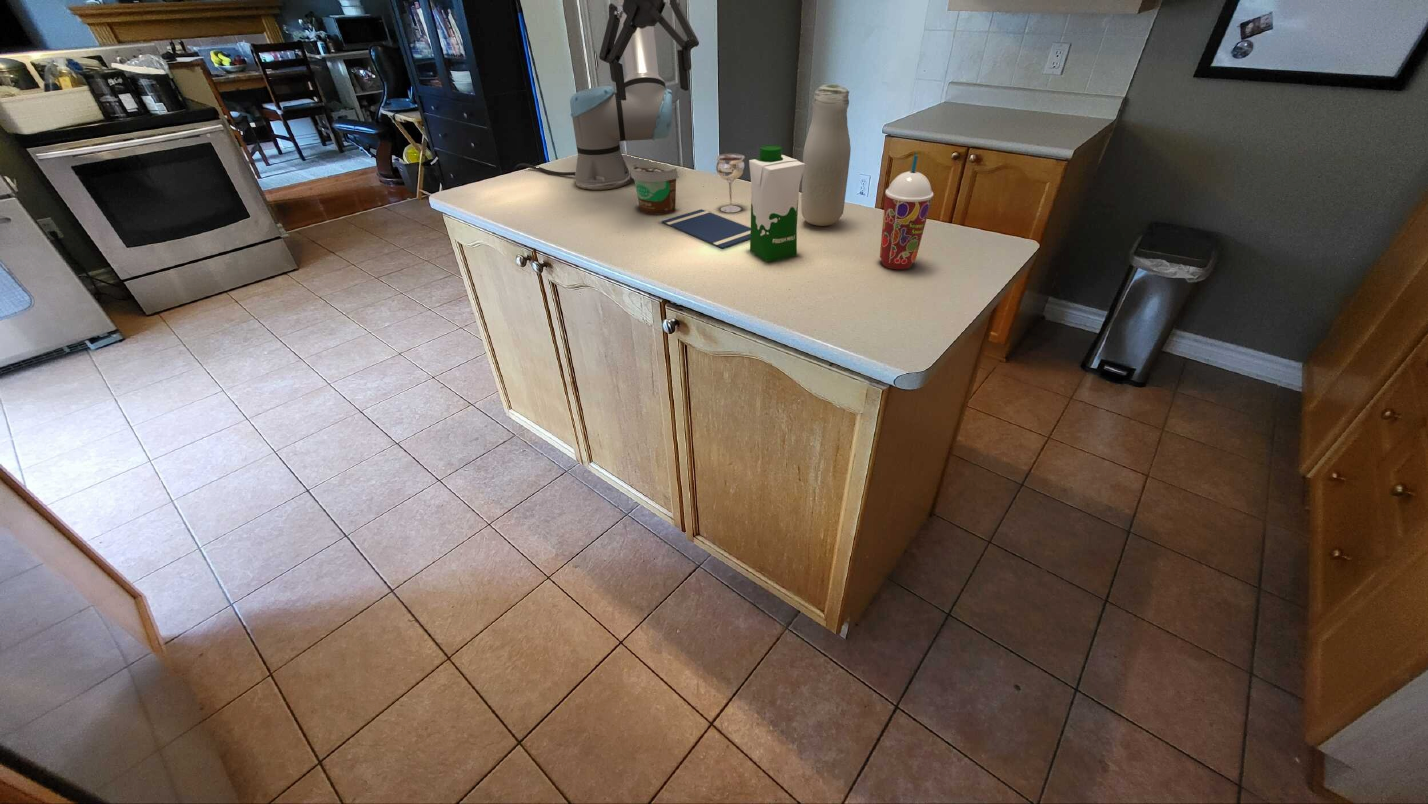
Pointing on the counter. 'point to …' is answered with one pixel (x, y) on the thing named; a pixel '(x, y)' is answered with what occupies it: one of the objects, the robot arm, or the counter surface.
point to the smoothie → (904, 218)
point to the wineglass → (730, 173)
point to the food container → (655, 189)
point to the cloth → (710, 228)
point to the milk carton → (774, 204)
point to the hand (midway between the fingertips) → (652, 94)
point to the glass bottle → (826, 157)
